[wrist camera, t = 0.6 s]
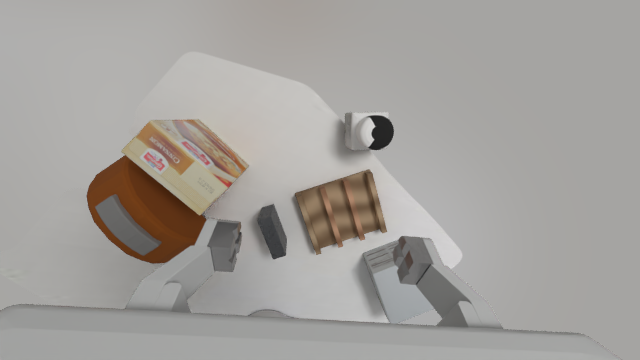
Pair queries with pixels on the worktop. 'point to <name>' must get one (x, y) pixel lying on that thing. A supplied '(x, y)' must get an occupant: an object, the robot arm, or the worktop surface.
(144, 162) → the coffeecake box
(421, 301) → the supplement box
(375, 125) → the container
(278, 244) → the block
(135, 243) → the orange rounded block
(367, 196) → the rack
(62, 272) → the worktop surface
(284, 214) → the worktop surface
